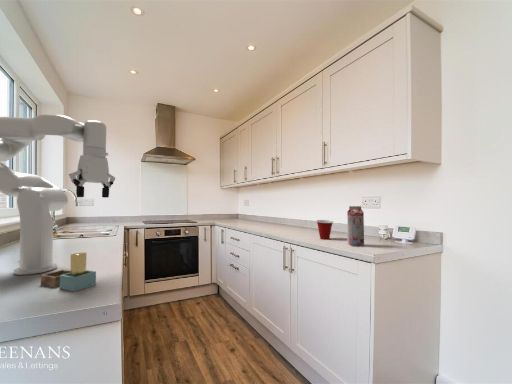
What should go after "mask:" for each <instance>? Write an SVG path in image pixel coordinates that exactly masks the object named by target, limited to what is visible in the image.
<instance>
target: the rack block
mask: <svg viewBox="0 0 512 384" xmlns="http://www.w3.org/2000/svg"><path fill="white" fill-rule="evenodd" d="M95 285H97V271H95V270H87V269H86V274H84V275H80V276H77V277H72V276H70V273H67V274H63V275H60V286H59V289H60V290H66V291H69V292H70V291H71V292H76V291H79V290H83V289H86V288H89V287H93V286H95Z"/></svg>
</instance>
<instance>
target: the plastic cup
mask: <svg viewBox="0 0 512 384" xmlns="http://www.w3.org/2000/svg"><path fill="white" fill-rule="evenodd" d="M316 223H317V228H318V229H317V230H318V234H319V238H320V240H330V237H331V231H332V226H333V224H334V221H333V220H329V219H327V220H326V219H317V220H316Z"/></svg>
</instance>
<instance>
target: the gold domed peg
mask: <svg viewBox="0 0 512 384" xmlns="http://www.w3.org/2000/svg"><path fill="white" fill-rule="evenodd" d="M86 270H87V252H75V253H70V270H69V271H70V276H72V277H77V276H80V275H84V274H86Z"/></svg>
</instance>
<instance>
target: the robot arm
mask: <svg viewBox="0 0 512 384" xmlns="http://www.w3.org/2000/svg"><path fill="white" fill-rule="evenodd" d="M46 136H59V137H63V138H66V139H69V140H71V141H74V142H77V143H82V155H79V156H80V157H79V160H78V163H77V168H76V171H73V172H70V173H69V174H68V176H69V178H70V181H71V182H72V184H74V186H75V187H76V192H75V193H76V194H75V195H76V197H77V198H85V187H84V185H85V184H86V183H92V184H93V183H96V184H99V183H100V184H101V186H102V188H101V197H102V198H109V197H110V196H109V195H110V188H111V187H112V186H113V184H114V182H115V181H116V177H115V176H113V175H112V174H111V173H109V172H110V171H109V162H108V156H109V152H107V125H106V124H105V123H104V122H102V121H99V120H93V119H92V120H90V119H89V120H86V121H85V122H80V121H77V120H75V119H74V118H71V117H69V116H67V115H63V114H62V115H61V114H38V115H35V116H34V117H18V116H0V193H2V194H4V195H6V196H8V197H14V198H16V205H17V209H18V213H19V260H18V264H19V267H16V268H15V269H14V270H13V275H18V276H19V275H20V276H22V275H27V276H28V275H35V274H40V273H46V272H50V271H54V270H56V269H58V267H59V266H58V264H57V263H55V262H53V261H54V260H53V258H54V257H53V256H54V251H53V249H54V245H53V244H54V223H53V218H52V215H51V212H58V211H60V210H62V209H64V208H65V207H67V205H68V202H69V198H68V195H67V194H66V192H65V191H64V190H63V189H61V188H60V187H59V186H56V185H55V184H53V183H52V182H51V181H49V180H47V179H46V178H44V177H42V176H41V175H37V174H33V173H28V172H27V173H26V172H25V173H24V172H20V171H16V170H14V169H13V168H11V167H9V166H7V165H6V164H4V163H3V162H7V161H9V160H11V159H13V158H15V156H17V155H18V154H19V153H20V152H22V151H23V150H25V148H27V147H28V146H29V145H30V144H31V143H32V142H33V141H41V140H43V139H45V137H46Z"/></svg>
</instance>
